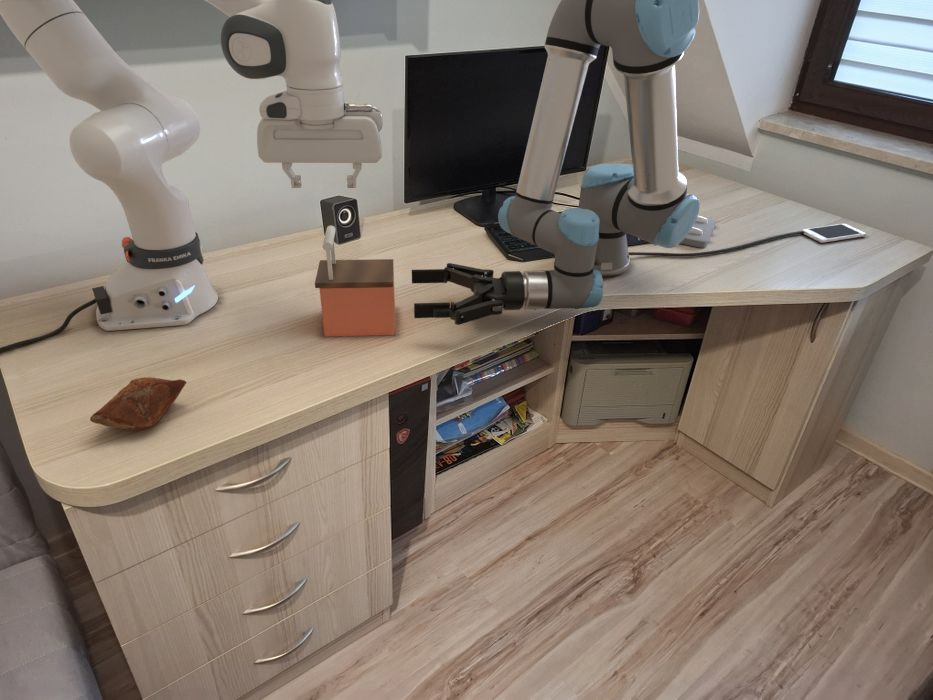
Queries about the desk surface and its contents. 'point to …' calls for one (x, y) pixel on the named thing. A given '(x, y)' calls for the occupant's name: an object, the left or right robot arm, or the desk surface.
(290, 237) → the desk surface
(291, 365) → the desk surface
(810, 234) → the smartphone
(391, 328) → the chest
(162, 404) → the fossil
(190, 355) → the desk surface
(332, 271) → the lid
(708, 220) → the light switch
